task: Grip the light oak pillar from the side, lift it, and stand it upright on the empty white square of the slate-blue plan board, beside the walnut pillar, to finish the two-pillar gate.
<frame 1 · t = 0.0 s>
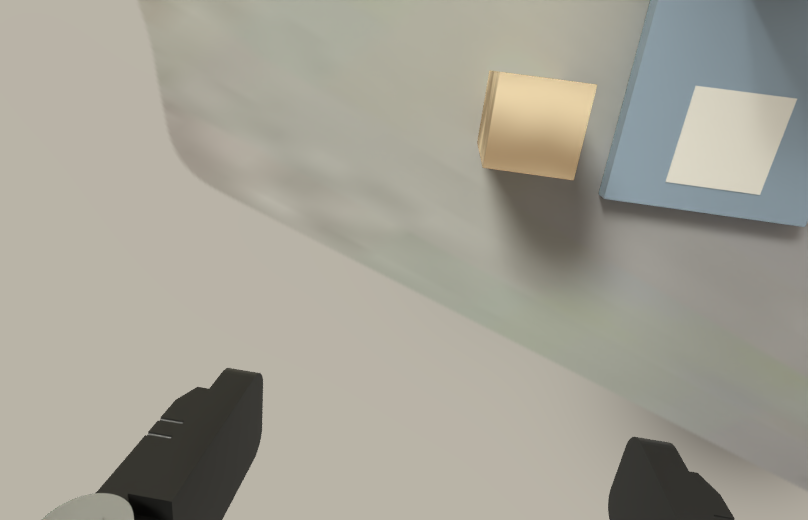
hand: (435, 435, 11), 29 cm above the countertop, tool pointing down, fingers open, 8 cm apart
plan board: (749, 46, 33), on the countertop
oak pillar: (518, 112, 36), on the countertop
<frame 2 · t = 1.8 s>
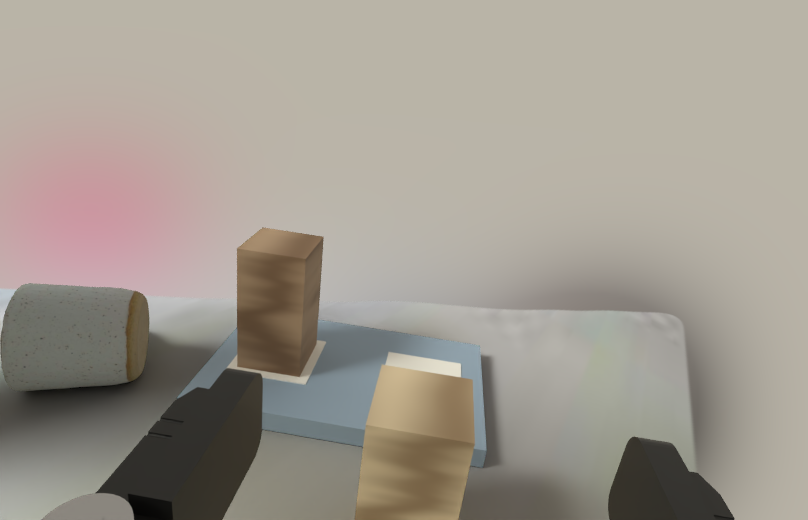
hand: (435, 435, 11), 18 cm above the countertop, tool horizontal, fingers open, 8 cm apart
ceramic mug: (89, 370, 40), on the countertop
plan board: (348, 382, 42), on the countertop
walnut pillar: (278, 355, 42), point 2 cm above the countertop, touching plan board
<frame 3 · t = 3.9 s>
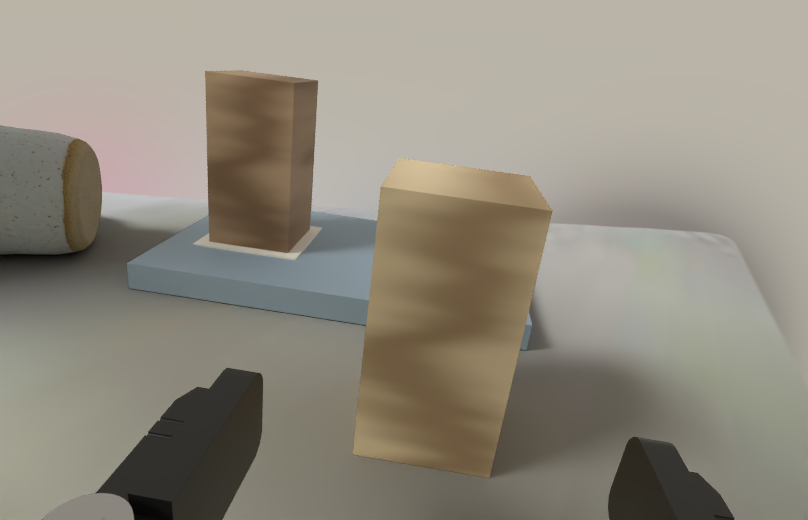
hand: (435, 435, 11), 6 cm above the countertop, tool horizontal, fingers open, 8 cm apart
ceramic mug: (25, 245, 32), on the countertop
plan board: (349, 270, 34), on the countertop
oak pillar: (424, 421, 21), on the countertop
walnut pillar: (262, 234, 34), point 2 cm above the countertop, touching plan board
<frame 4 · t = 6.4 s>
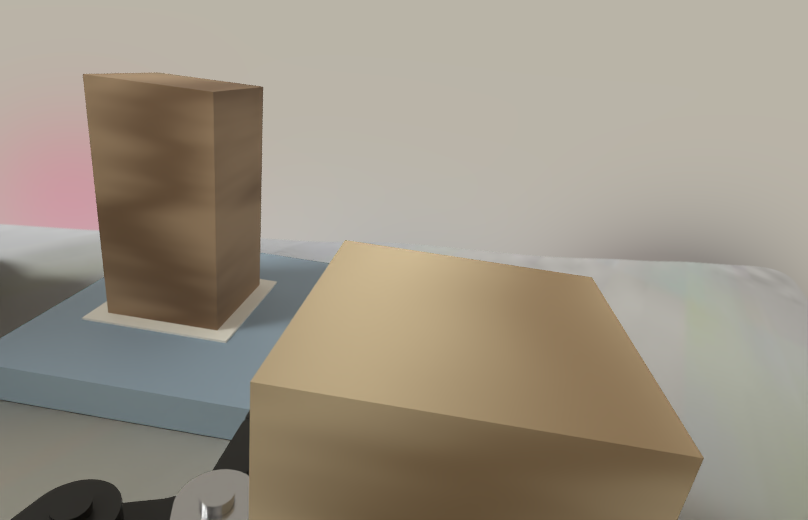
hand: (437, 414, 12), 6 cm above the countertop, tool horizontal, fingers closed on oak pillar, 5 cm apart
plan board: (309, 345, 25), on the countertop
walnut pillar: (190, 297, 25), point 2 cm above the countertop, touching plan board
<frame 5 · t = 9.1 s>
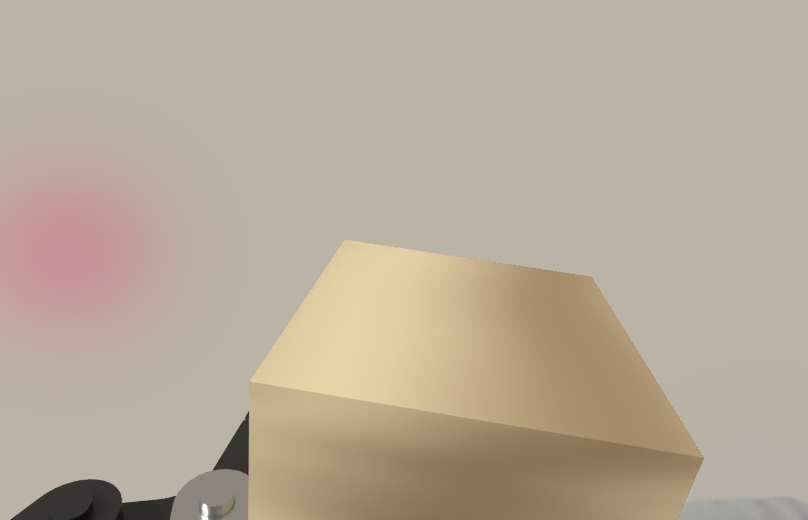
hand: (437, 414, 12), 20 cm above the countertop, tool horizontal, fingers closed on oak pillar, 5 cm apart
when the fingers open (9 cm above the countertop, at t = 12.0 s): oak pillar drops 1 cm, resting on plan board.
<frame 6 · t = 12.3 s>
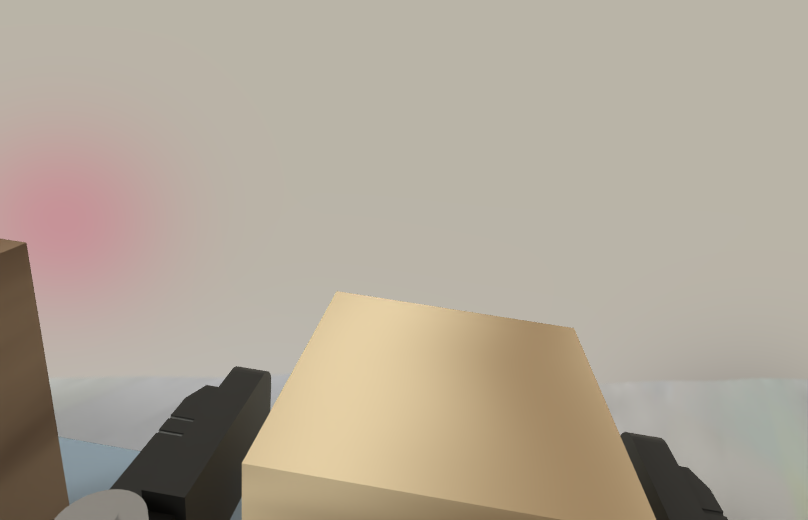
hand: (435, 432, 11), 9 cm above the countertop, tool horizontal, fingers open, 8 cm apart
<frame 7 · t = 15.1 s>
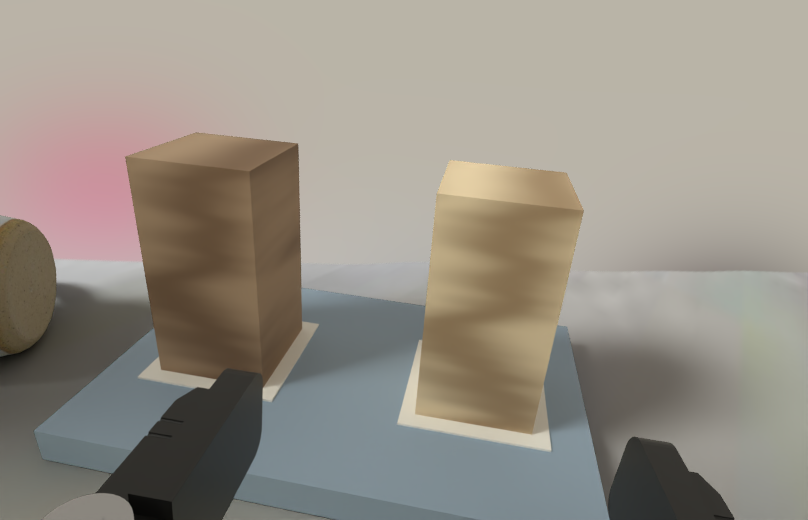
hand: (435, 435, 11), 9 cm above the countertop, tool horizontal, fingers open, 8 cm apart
plan board: (352, 392, 25), on the countertop
oak pillar: (475, 387, 24), point 2 cm above the countertop, touching plan board
walnut pillar: (237, 347, 25), point 2 cm above the countertop, touching plan board
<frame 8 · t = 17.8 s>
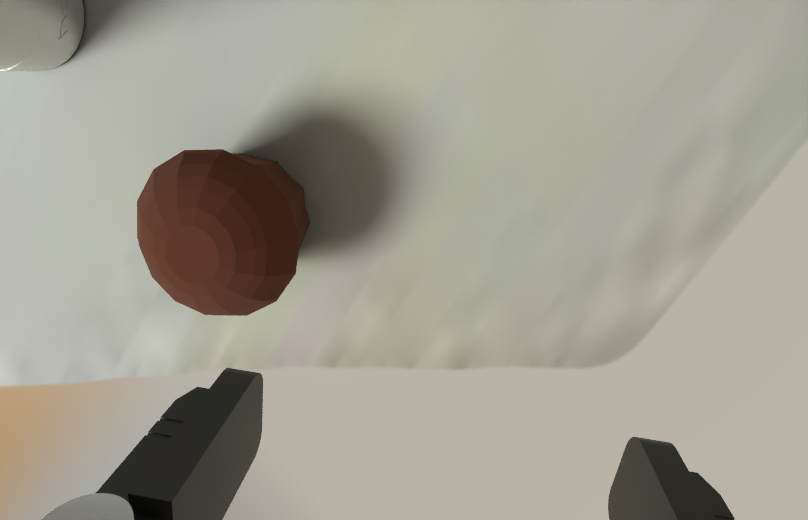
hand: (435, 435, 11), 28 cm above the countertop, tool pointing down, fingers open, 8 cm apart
muffin: (255, 210, 40), on the countertop
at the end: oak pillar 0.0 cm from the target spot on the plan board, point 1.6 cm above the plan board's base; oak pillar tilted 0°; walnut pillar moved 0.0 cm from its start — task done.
